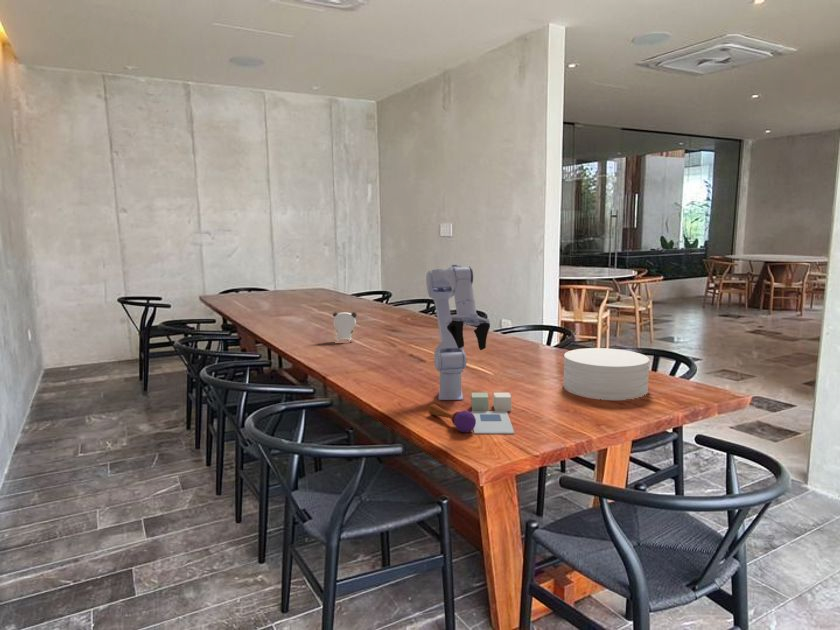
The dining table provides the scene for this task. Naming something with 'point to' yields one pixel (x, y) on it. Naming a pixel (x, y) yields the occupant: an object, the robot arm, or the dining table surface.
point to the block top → (502, 401)
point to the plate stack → (606, 373)
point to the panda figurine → (344, 324)
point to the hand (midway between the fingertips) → (472, 348)
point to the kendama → (455, 418)
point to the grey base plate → (492, 422)
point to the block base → (479, 401)
